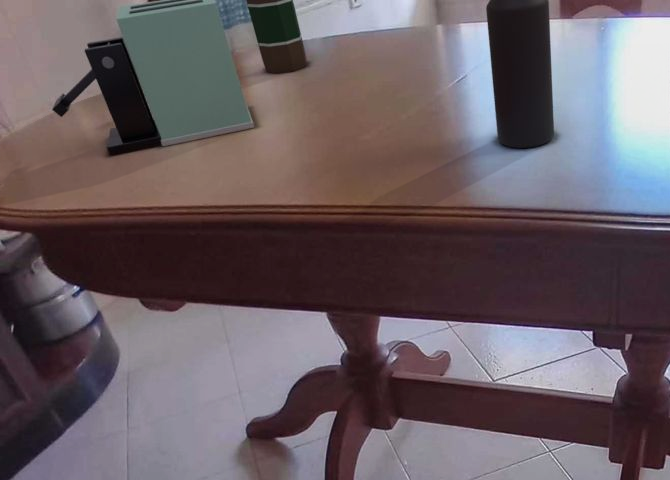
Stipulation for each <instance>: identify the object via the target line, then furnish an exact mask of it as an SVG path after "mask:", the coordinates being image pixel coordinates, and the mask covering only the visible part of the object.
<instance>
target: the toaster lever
mask: <svg viewBox="0 0 670 480" xmlns="http://www.w3.org/2000/svg"><path fill="white" fill-rule="evenodd" d="M106 45H111V43H110V42H108V43H107V44H106ZM95 80H96V78H95V75H94V73H93V70H92V68H91V69H89V71H87V73H85V75H84V76H83V77H82V78H81V79H80V80H79V81H78V82H76V84H75V85H74V86H73V87H72V88H71V89H70V90H69V91H68V92H66V94H65V93H62V94H61V95H60V96H59V97H58V98H56V100H55V102H54V105H53V106H52V109H51V110H52V111H53V112H54V113H55V114H56V115H58V116H59V117H60V118H62V117H63V116H65V114H67V112H69V109H70V107H71V105H72V104H73V102H74V101H75V100H76V99H77V98H78V97H80V95H81V94H82V93H83V92H84V91H85V90H86V89H87V88H88V87H89V86H90V85H91V84H92V83H93V82H95Z"/></svg>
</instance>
